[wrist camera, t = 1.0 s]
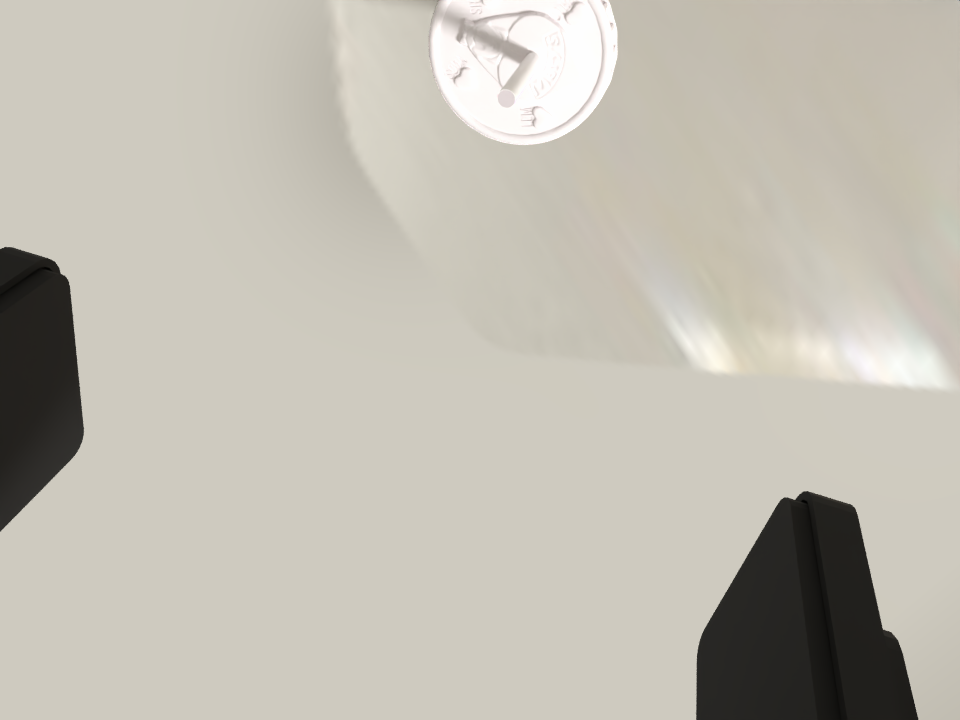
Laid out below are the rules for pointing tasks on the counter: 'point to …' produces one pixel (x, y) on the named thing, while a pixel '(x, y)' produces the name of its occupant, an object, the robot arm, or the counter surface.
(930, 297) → the counter surface
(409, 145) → the counter surface
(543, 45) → the smoothie
